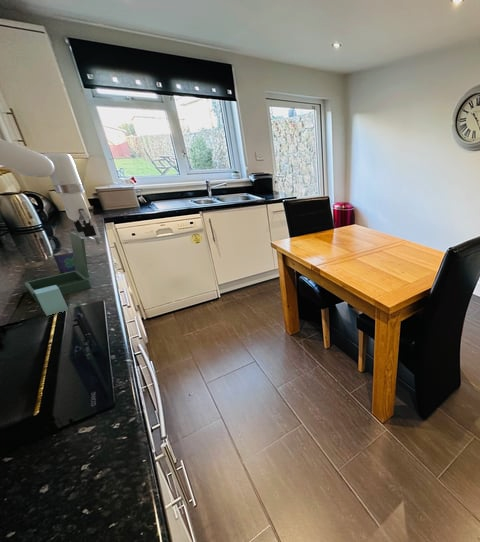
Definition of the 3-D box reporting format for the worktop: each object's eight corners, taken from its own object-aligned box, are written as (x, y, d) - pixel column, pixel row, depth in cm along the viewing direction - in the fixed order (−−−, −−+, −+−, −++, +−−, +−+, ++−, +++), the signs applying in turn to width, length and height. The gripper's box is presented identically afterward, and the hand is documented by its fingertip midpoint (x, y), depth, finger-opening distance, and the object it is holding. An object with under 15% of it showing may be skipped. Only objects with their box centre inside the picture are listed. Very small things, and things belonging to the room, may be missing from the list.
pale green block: (47, 317, 92) (36, 294, 89) (44, 312, 94) (33, 290, 91) (69, 310, 96) (59, 288, 93) (65, 306, 98) (55, 284, 95)
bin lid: (80, 238, 104) (99, 238, 108) (69, 231, 111) (87, 231, 115) (86, 278, 108) (104, 276, 112) (75, 269, 115) (92, 267, 120)
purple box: (87, 267, 129) (79, 245, 125) (90, 268, 128) (81, 246, 124) (60, 273, 122) (50, 250, 118) (62, 275, 121) (52, 252, 117)
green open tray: (37, 304, 99) (32, 293, 97) (29, 292, 106) (23, 282, 105) (92, 289, 110) (88, 279, 108) (80, 279, 118) (76, 270, 116)
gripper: (49, 187, 105) (67, 232, 112) (61, 192, 96) (81, 240, 103) (76, 185, 110) (92, 228, 117) (90, 190, 102) (106, 235, 109)
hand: (87, 233), depth 110 cm, fingers open, 9 cm apart
